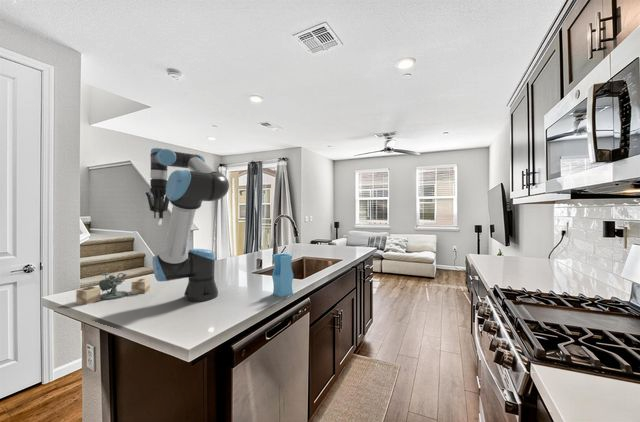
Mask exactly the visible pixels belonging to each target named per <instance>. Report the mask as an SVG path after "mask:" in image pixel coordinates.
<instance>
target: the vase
mask: <svg viewBox="0 0 640 422" xmlns="http://www.w3.org/2000/svg"><path fill="white" fill-rule="evenodd" d="M293 256H294V255H293V254H290V253H283V252H282V253H276V254H275V253H274V254H272V258H273V263H274V268H273V271H272V273H271V276H272V277H271V278H272V282H273V292H272V295H275V296H276V297H279V298H283V297H287V296H292V295H294V291H293V280H294V276H295V275H294V272H293V268H292V261H293V260H292V259H293Z"/></svg>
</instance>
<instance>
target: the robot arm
mask: <svg viewBox="0 0 640 422" xmlns="http://www.w3.org/2000/svg"><path fill="white" fill-rule="evenodd" d="M168 167H172V168H183V169H184V170H180V169H177V170H176V169H175V170H174V171H172V172H171V173H170V174H169V177H168ZM187 169H188V170H187ZM149 176H150V177H149V178H150V179H149V180H150V189H149V191H148V192H145V195H146V197H147V201H148V206H149V211H150V212H151V211H152V212H153V213H154V215H153V217H154V219H155V226H162V225H163V224H162V223H163V222H162V221H163V220H162V219H163V218H164V212H167V211H168V207H169V203H170V204H171V205H172V207H171V208H172V209H171V213H170V217H169V222H168V228H167V231H166V232H167V233H166V237H165V243H164V246H163V248H161V249H159V253H158V255H156V254H155V255H153V256H152V269H153V275H154V278H155V279H156V281H157V282H168V281H175V280H181V279H187V278H188V282H187V285H186V289H185V291H184V294H183V295H184V297H183V299H184V300H185V301H188V302H204V301H210V300H213V299H215V298H216V297H218V295H219V290H218V287H217V284H216V281H215V265H216V264H215V263H216V262H215V261H216V258H215V252H214V251H213V250H211V249H203V248H190V249H188V250H187V247H188V242H189V238H190V234H191V231H192V228H193V227H192V226H193V222H194V220H195V219H194V218H195V214H196V211H197V210H199V209H200V208H201V207H202V203H203V202H215V201H219V200H221V199H223V198H224V197H225V196H226V195H227V194H228V192H229V189H230V182H229V179H228V178H227V176H226V175H224V173H222V172H220V171H216V170H215V169H213V167H211V166H210V165H209V164H207V163H206V160H205V157H204V156H203V155H201V154H196V153H195V154H194V153H188V152H187V153H186V152H179V151H174V150H172V149H168V148H159V147H153V148H152V149H150V175H149Z"/></svg>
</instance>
